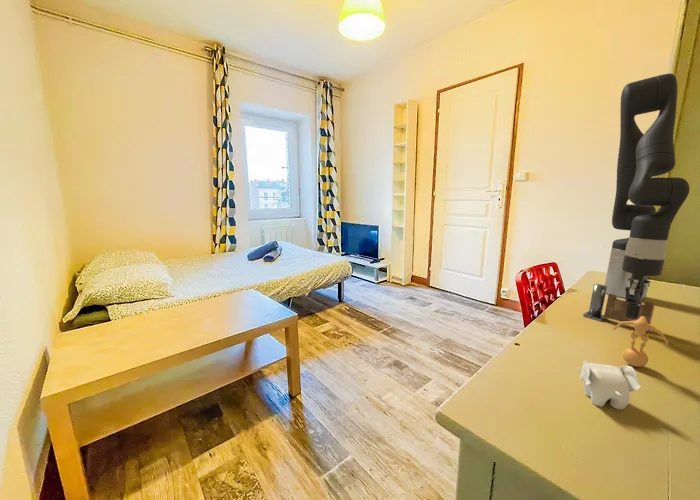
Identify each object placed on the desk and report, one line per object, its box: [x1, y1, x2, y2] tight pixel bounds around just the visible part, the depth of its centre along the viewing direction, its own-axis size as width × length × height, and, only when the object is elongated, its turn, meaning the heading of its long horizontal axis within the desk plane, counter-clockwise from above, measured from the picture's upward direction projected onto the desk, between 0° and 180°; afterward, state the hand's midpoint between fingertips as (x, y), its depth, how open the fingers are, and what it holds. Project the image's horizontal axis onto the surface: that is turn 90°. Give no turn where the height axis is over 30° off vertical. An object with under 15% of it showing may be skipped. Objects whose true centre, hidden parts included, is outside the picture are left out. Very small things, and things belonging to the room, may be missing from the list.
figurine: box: [612, 316, 669, 368], centre depth 62 cm, size 8×6×12 cm
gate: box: [603, 294, 655, 323], centre depth 82 cm, size 9×2×7 cm, turn 37°
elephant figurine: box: [578, 359, 642, 410], centre depth 53 cm, size 8×10×7 cm
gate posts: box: [583, 283, 656, 334], centre depth 84 cm, size 6×15×10 cm, turn 36°
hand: (631, 317), depth 80 cm, fingers closed
